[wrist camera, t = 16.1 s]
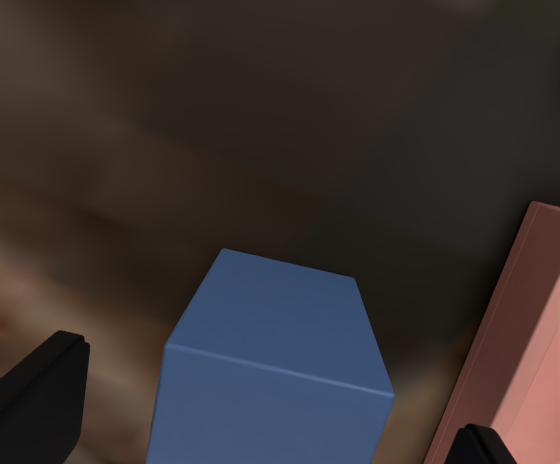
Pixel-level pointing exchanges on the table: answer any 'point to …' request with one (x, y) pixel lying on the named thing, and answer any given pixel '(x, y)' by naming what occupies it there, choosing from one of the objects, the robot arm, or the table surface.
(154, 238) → the table surface
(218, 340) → the blue block
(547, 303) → the rose tray
